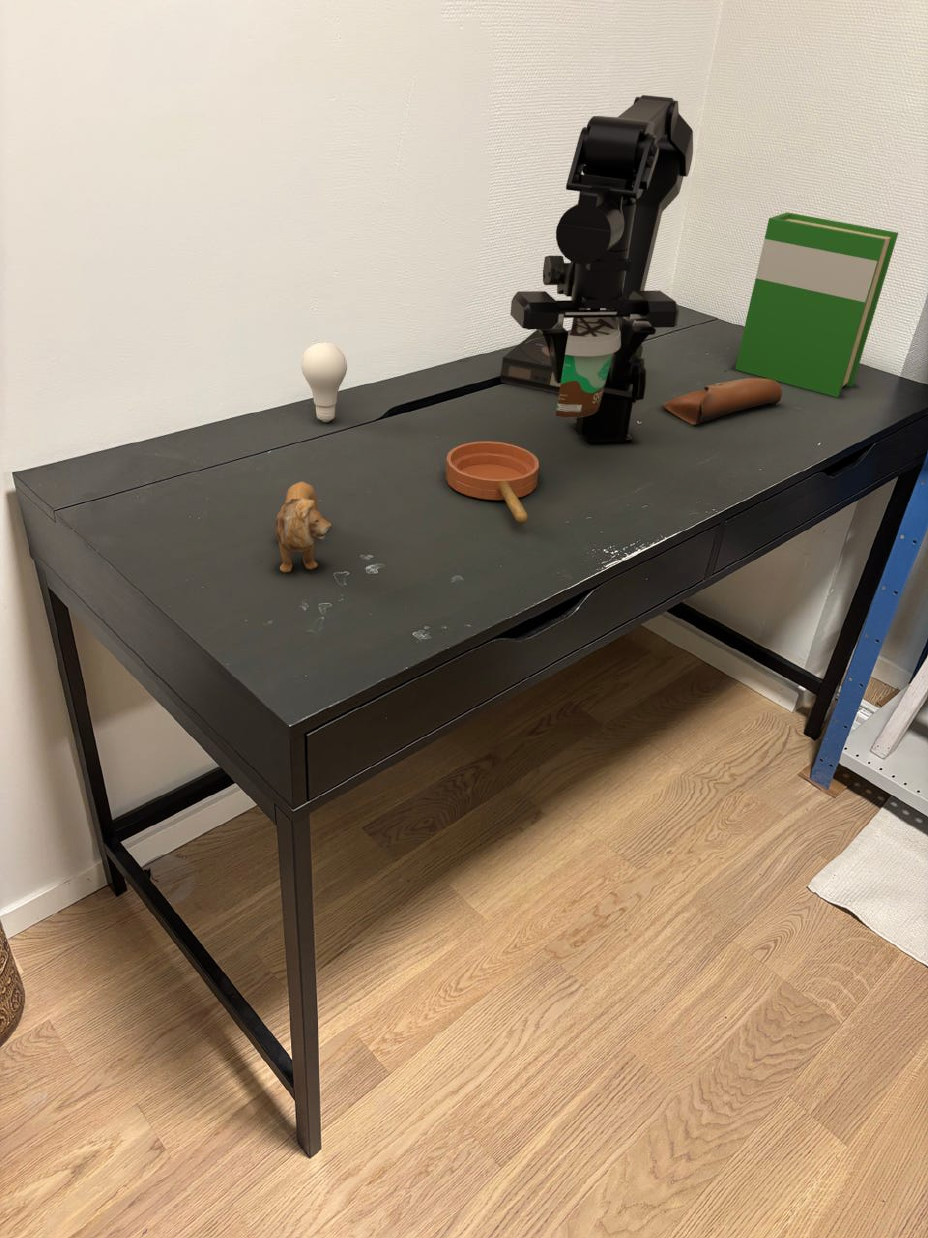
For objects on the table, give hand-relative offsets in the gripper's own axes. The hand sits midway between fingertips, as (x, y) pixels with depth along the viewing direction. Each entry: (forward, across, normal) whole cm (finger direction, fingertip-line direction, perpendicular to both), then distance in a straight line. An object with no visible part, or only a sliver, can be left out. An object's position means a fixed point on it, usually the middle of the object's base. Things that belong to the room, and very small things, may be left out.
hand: (585, 381), depth 113 cm
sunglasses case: (+13, -31, -21) cm, 40 cm away
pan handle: (+11, +11, +9) cm, 18 cm away
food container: (+3, 0, 0) cm, 3 cm away
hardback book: (+13, -50, -32) cm, 61 cm away
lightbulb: (+13, +29, -22) cm, 38 cm away
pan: (+13, +11, 0) cm, 17 cm away
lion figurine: (+13, +35, +14) cm, 40 cm away
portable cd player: (+13, -11, -36) cm, 40 cm away
